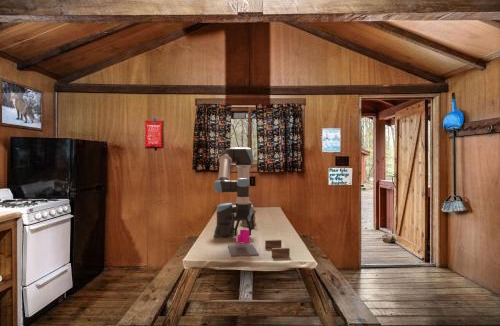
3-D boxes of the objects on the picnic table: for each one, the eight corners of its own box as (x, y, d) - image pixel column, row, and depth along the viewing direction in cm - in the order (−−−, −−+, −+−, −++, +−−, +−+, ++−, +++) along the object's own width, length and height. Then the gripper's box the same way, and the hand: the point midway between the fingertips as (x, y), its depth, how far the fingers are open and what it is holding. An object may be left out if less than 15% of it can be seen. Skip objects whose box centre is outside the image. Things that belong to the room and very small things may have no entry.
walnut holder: (265, 247, 207) (265, 240, 207) (280, 247, 208) (280, 239, 208) (272, 257, 186) (272, 249, 186) (289, 257, 187) (289, 248, 187)
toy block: (236, 241, 207) (236, 229, 208) (246, 241, 208) (245, 229, 209) (239, 243, 192) (238, 230, 193) (249, 243, 193) (249, 230, 194)
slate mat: (228, 246, 210) (228, 245, 210) (252, 245, 212) (252, 244, 212) (231, 256, 188) (231, 255, 188) (258, 255, 190) (258, 254, 190)
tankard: (238, 223, 283) (238, 206, 283) (251, 222, 288) (251, 205, 288) (248, 228, 265) (248, 209, 265) (261, 227, 270) (262, 209, 270)
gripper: (227, 204, 194) (227, 243, 195) (259, 204, 197) (259, 242, 197) (226, 202, 202) (226, 240, 202) (257, 202, 205) (257, 239, 205)
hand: (242, 241), depth 200 cm, fingers closed on toy block, 6 cm apart
